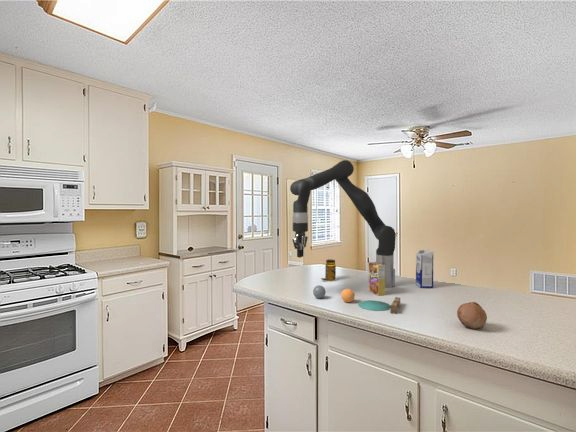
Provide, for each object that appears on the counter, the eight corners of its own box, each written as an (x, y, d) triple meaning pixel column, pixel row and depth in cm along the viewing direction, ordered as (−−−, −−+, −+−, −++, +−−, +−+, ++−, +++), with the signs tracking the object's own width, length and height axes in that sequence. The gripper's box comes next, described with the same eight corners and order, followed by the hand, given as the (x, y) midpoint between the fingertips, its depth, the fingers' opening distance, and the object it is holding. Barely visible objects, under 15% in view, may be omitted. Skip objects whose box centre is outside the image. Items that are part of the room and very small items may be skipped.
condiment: (337, 281, 188) (337, 260, 187) (323, 281, 187) (323, 261, 186) (334, 278, 195) (334, 258, 195) (320, 278, 194) (320, 259, 193)
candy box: (368, 291, 165) (368, 261, 165) (375, 290, 167) (375, 261, 166) (377, 296, 157) (378, 265, 156) (385, 295, 158) (385, 264, 158)
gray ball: (323, 295, 157) (323, 283, 157) (327, 299, 151) (327, 286, 151) (311, 296, 155) (311, 284, 155) (315, 300, 150) (315, 287, 149)
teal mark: (380, 299, 150) (380, 299, 150) (397, 309, 136) (397, 308, 136) (352, 302, 147) (352, 301, 147) (367, 311, 133) (367, 311, 133)
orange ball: (351, 299, 151) (351, 286, 150) (356, 303, 145) (356, 290, 145) (339, 300, 149) (339, 287, 149) (344, 304, 143) (344, 291, 143)
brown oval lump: (473, 332, 120) (479, 306, 122) (489, 335, 110) (495, 307, 113) (449, 322, 120) (455, 296, 122) (463, 324, 111) (469, 297, 113)
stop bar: (395, 303, 144) (395, 297, 144) (400, 304, 143) (400, 297, 143) (390, 313, 132) (390, 305, 132) (395, 313, 131) (395, 306, 131)
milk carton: (433, 288, 171) (433, 251, 171) (420, 288, 171) (421, 251, 171) (427, 285, 178) (428, 249, 178) (415, 284, 179) (416, 249, 178)
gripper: (299, 221, 164) (299, 254, 165) (287, 222, 152) (287, 258, 153) (312, 221, 161) (312, 255, 161) (301, 222, 149) (301, 259, 149)
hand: (300, 256), depth 157 cm, fingers closed
